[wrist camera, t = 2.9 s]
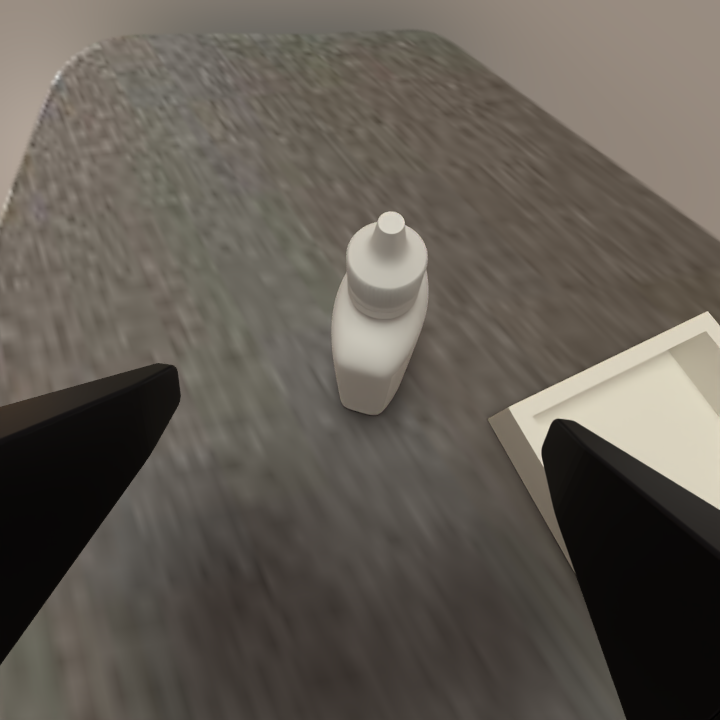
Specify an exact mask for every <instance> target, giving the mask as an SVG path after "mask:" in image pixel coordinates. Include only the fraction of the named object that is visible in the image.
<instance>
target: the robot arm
mask: <svg viewBox="0 0 720 720" xmlns="http://www.w3.org/2000/svg"><path fill="white" fill-rule="evenodd" d="M180 397H181V394H180V386H179V378H178V371H177V368H176V367H175V366H173V365H169V364H161V363H157V364H153V365H149V366H146V367H142V368H138V369H135V370H131V371H128V372H124V373H120V374H117V375H113V376H110V377H106V378H102V379H99V380H95V381H92V382H88V383H84V384H81V385H77V386H74V387H70V388H66V389H63V390H59V391H56V392H52V393H49V394H45V395H41V396H38V397H34V398H31V399H27V400H23V401H20V402H16V403H13V404H9V405H5V406H2V407H0V665H1V664H2V662H3V661H4V659H5V658H6V657H7V655H8V654H9V652H10V651H11V650H12V648H13V647H14V645H15V644H16V643H17V641H18V640H19V638H20V637H21V636H22V634H23V633H24V631H25V630H26V629H27V627H28V626H29V624H30V623H31V622H32V620H33V619H34V617H35V616H36V615H37V613H38V612H39V610H40V609H41V608H42V606H43V605H44V603H45V602H46V601H47V599H48V598H49V596H50V595H51V594H52V592H53V591H54V589H55V588H56V587H57V585H58V584H59V582H60V581H61V580H62V578H63V577H64V575H65V574H66V573H67V571H68V570H69V568H70V567H71V566H72V564H73V563H74V561H75V560H76V559H77V557H78V556H79V554H80V553H81V552H82V550H83V549H84V547H85V546H86V545H87V543H88V542H89V540H90V539H91V538H92V536H93V535H94V533H95V532H96V531H97V529H98V528H99V526H100V525H101V524H102V522H103V521H104V519H105V518H106V517H107V515H108V514H109V512H110V511H111V510H112V508H113V507H114V505H115V504H116V503H117V501H118V500H119V498H120V497H121V496H122V494H123V493H124V491H125V490H126V489H127V487H128V486H129V484H130V483H131V482H132V480H133V479H134V477H135V476H136V475H137V473H138V472H139V470H140V469H141V468H142V466H143V465H144V463H145V462H146V460H147V459H148V457H149V456H150V454H151V453H152V451H153V449H154V448H155V446H156V444H157V443H158V441H159V439H160V437H161V435H162V434H163V432H164V430H165V428H166V426H167V425H168V423H169V421H170V419H171V418H172V416H173V414H174V412H175V410H176V409H177V407H178V405H179V402H180ZM541 456H542V461H543V465H544V470H545V474H546V479H547V483H548V487H549V492H550V496H551V501H552V505H553V509H554V513H555V516H556V519H557V522H558V525H559V528H560V531H561V534H562V537H563V540H564V543H565V545H566V548H567V551H568V554H569V557H570V560H571V562H572V565H573V568H574V571H575V574H576V577H577V580H578V582H579V585H580V588H581V591H582V594H583V597H584V600H585V602H586V605H587V608H588V611H589V614H590V617H591V620H592V622H593V625H594V628H595V631H596V634H597V637H598V640H599V642H600V645H601V648H602V651H603V654H604V657H605V660H606V662H607V665H608V668H609V671H610V674H611V677H612V680H613V682H614V685H615V688H616V691H617V694H618V697H619V700H620V702H621V705H622V708H623V711H624V714H625V717H626V720H720V510H719V509H718V508H716V507H714V506H713V505H711V504H710V503H708V502H706V501H705V500H703V499H701V498H700V497H698V496H696V495H695V494H693V493H692V492H690V491H688V490H687V489H685V488H683V487H682V486H680V485H678V484H677V483H675V482H674V481H672V480H670V479H669V478H667V477H665V476H664V475H662V474H661V473H659V472H657V471H656V470H654V469H652V468H651V467H649V466H647V465H646V464H644V463H643V462H641V461H639V460H638V459H636V458H634V457H633V456H631V455H629V454H628V453H626V452H625V451H623V450H621V449H620V448H618V447H616V446H615V445H613V444H611V443H610V442H608V441H607V440H605V439H603V438H602V437H600V436H598V435H597V434H595V433H593V432H592V431H590V430H589V429H587V428H585V427H584V426H582V425H580V424H579V423H577V422H575V421H573V420H567V419H560V418H557V419H555V420H553V421H552V423H551V425H550V427H549V430H548V432H547V435H546V437H545V440H544V442H543V445H542V449H541Z"/></svg>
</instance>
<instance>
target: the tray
mask: <svg viewBox="0 0 720 720" xmlns="http://www.w3.org/2000/svg"><path fill="white" fill-rule="evenodd" d="M557 418H560V419H567V420H573V421H575V422H577V423H579V424H580V425H582V426H584V427H585V428H587V429H589V430H590V431H592V432H593V433H595V434H597V435H598V436H600V437H602V438H603V439H605V440H607V441H608V442H610V443H611V444H613V445H615V446H616V447H618V448H620V449H621V450H623V451H625V452H626V453H628V454H629V455H631V456H633V457H634V458H636V459H638V460H639V461H641V462H643V463H644V464H646V465H647V466H649V467H651V468H652V469H654V470H656V471H657V472H659V473H661V474H662V475H664V476H665V477H667V478H669V479H670V480H672V481H674V482H675V483H677V484H678V485H680V486H682V487H683V488H685V489H687V490H688V491H690V492H692V493H693V494H695V495H696V496H698V497H700V498H701V499H703V500H705V501H706V502H708V503H710V504H711V505H713V506H714V507H716V508H718V509H719V510H720V326H719V324H718V323H717V322H716V321H715V320H714V318H713V317H712V316H711V315H710V314H709V312H708V311H707V312H705V313H703V314H701V315H699V316H697V317H695V318H693V319H690V320H688V321H686V322H684V323H682V324H680V325H678V326H676V327H674V328H672V329H670V330H668V331H666V332H664V333H661V334H659V335H657V336H655V337H653V338H651V339H649V340H647V341H645V342H643V343H641V344H639V345H637V346H634V347H632V348H630V349H628V350H626V351H624V352H622V353H620V354H618V355H616V356H614V357H612V358H610V359H608V360H605V361H603V362H601V363H599V364H597V365H595V366H593V367H591V368H589V369H587V370H585V371H583V372H581V373H578V374H576V375H574V376H572V377H570V378H568V379H566V380H564V381H562V382H560V383H558V384H556V385H554V386H552V387H549V388H547V389H545V390H543V391H541V392H539V393H537V394H535V395H533V396H531V397H529V398H527V399H525V400H522V401H520V402H518V403H516V404H514V405H512V406H510V407H508V408H506V409H504V410H503V411H501V412H499V413H497V414H495V415H494V416H492V417H490V418H488V419H487V420H488V421H489V423H490V425H491V427H492V428H493V430H494V432H495V434H496V435H497V437H498V439H499V441H500V442H501V444H502V446H503V448H504V449H505V451H506V453H507V455H508V456H509V458H510V460H511V462H512V464H513V465H514V467H515V469H516V471H517V472H518V474H519V476H520V478H521V479H522V481H523V483H524V485H525V486H526V488H527V490H528V492H529V493H530V495H531V497H532V499H533V500H534V502H535V504H536V506H537V507H538V509H539V511H540V513H541V515H542V516H543V518H544V520H545V522H546V523H547V525H548V527H549V529H550V530H551V532H552V534H553V536H554V537H555V539H556V541H557V543H558V544H559V546H560V548H561V550H562V551H563V553H564V555H565V557H566V559H567V560H568V562H569V564H570V566H571V567H572V569H573V571H574V568H573V565H572V562H571V560H570V557H569V554H568V551H567V548H566V545H565V543H564V540H563V537H562V534H561V531H560V528H559V525H558V522H557V519H556V516H555V513H554V509H553V505H552V501H551V496H550V492H549V487H548V483H547V479H546V474H545V470H544V465H543V461H542V456H541V449H542V445H543V442H544V440H545V437H546V435H547V432H548V430H549V427H550V425H551V423H552V421H553V420H555V419H557ZM574 573H575V571H574Z"/></svg>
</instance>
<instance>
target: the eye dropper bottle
mask: <svg viewBox="0 0 720 720" xmlns="http://www.w3.org/2000/svg"><path fill="white" fill-rule="evenodd" d="M347 248H348V249H347V253H346V266H347V273H346V274H345V276H344V278H343V280H342V282H341V285H340V287H339V290H338V293H337V296H336V299H335V303H334V308H333V315H332V325H331V341H332V353H333V361H334V367H335V373H336V379H337V384H338V390H339V395H340V400H341V402H342V404H343V406H345V407H346V408H348V409H351V410H354V411H358V412H361V413H365V414H369V415H378V414H380V413H381V412H382V411H383V410H384V409H385V408H386V407H387V406H388V404H389V403H390V402H391V400H392V399H393V397H394V395H395V393H396V392H397V390H398V388H399V385H400V383H401V381H402V378H403V376H404V373H405V371H406V368H407V366H408V363H409V361H410V358H411V355H412V353H413V350H414V348H415V345H416V343H417V340H418V338H419V335H420V332H421V329H422V326H423V323H424V320H425V316H426V311H427V304H428V277H427V271H426V267H427V262H428V256H427V254H428V252H427V249H426V245H425V244H424V242H423V241H422V238H420V236H419V235H418V234H417V233H416V232H415V231H414V230H412V229H411V228H409V227H408V226H406V225H405V222H404V219H403V217H402V216H401V215H400V214H398V213H396V212H386V213H383V214H382V215H381V216H380V217H379V219H378V222H375V223H371V224H369V225H367V226H364V228H361V230H359V231H358V232H357V233H355V235H354V236H353V238H352V239H351V240H350V242H349V245H348V246H347Z"/></svg>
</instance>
